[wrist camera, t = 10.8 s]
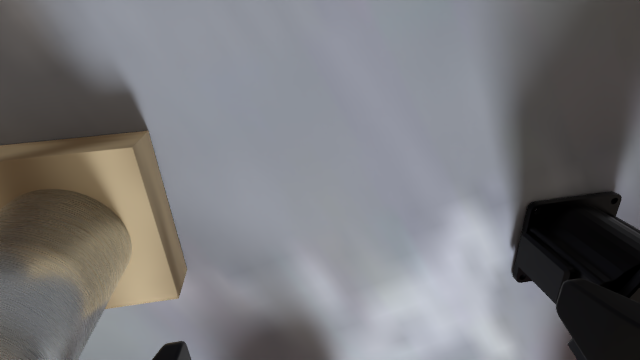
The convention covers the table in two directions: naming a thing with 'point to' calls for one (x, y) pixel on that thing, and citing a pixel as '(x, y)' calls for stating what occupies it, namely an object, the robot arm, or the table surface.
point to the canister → (56, 272)
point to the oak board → (109, 201)
